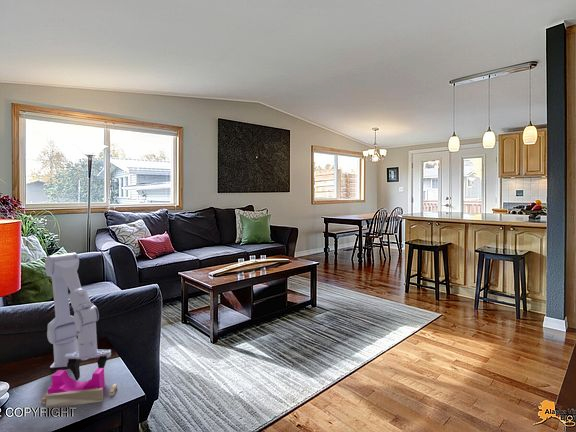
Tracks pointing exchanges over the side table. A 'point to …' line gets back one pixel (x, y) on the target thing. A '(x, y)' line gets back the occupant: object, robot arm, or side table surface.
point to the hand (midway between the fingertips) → (89, 377)
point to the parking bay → (75, 397)
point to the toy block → (75, 382)
